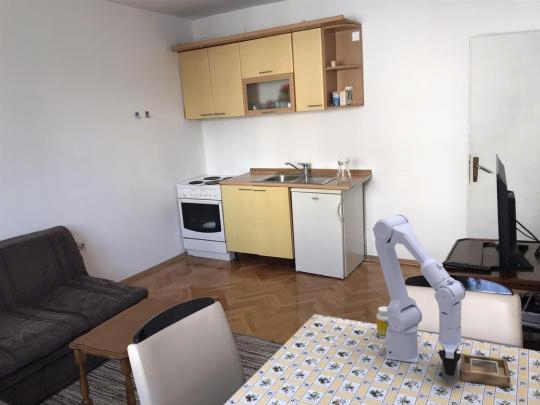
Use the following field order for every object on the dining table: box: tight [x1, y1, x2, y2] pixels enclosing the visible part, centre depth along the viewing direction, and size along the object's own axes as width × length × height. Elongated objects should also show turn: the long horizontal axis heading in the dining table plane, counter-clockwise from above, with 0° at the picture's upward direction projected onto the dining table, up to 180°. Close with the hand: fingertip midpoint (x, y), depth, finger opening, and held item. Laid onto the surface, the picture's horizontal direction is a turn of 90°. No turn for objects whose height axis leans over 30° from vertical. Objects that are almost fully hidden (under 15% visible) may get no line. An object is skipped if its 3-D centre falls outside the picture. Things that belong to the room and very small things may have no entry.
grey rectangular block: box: [441, 361, 459, 382], centre depth 127 cm, size 4×4×6 cm
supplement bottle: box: [376, 306, 389, 339], centre depth 153 cm, size 5×5×10 cm
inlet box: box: [460, 353, 511, 389], centre depth 126 cm, size 12×10×3 cm
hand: (449, 369), depth 127 cm, fingers open, 5 cm apart
